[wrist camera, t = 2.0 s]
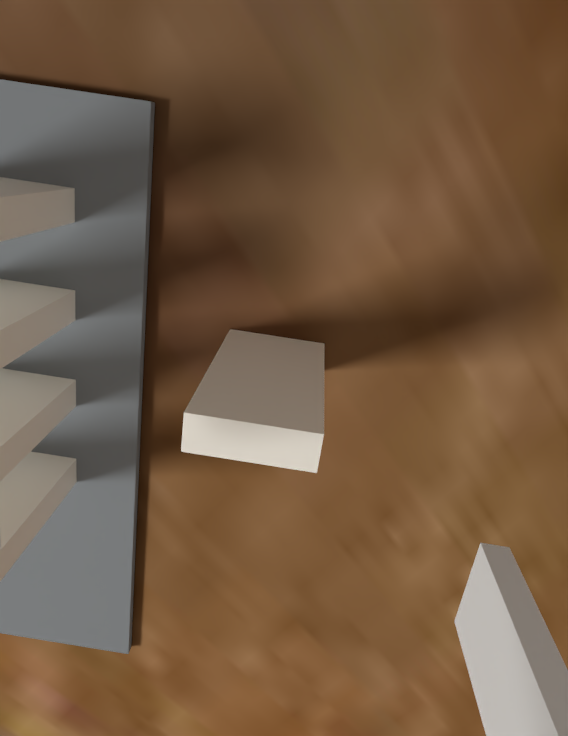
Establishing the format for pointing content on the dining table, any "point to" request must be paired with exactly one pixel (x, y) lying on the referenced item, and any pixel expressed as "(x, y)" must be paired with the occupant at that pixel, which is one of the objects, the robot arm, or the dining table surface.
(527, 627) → the robot arm
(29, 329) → the domino
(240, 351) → the domino
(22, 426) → the domino
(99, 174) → the mat
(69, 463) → the domino
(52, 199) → the domino
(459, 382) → the dining table surface
